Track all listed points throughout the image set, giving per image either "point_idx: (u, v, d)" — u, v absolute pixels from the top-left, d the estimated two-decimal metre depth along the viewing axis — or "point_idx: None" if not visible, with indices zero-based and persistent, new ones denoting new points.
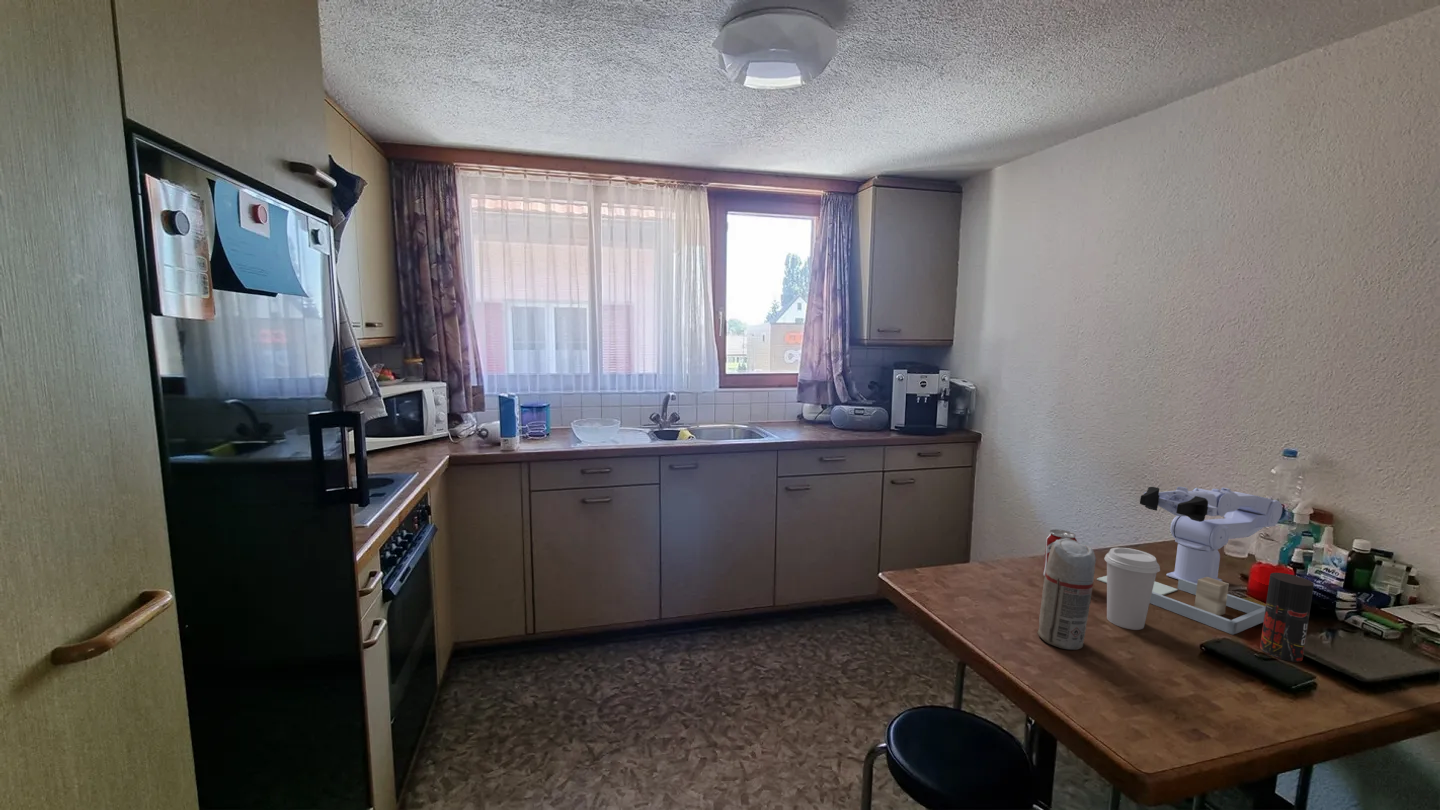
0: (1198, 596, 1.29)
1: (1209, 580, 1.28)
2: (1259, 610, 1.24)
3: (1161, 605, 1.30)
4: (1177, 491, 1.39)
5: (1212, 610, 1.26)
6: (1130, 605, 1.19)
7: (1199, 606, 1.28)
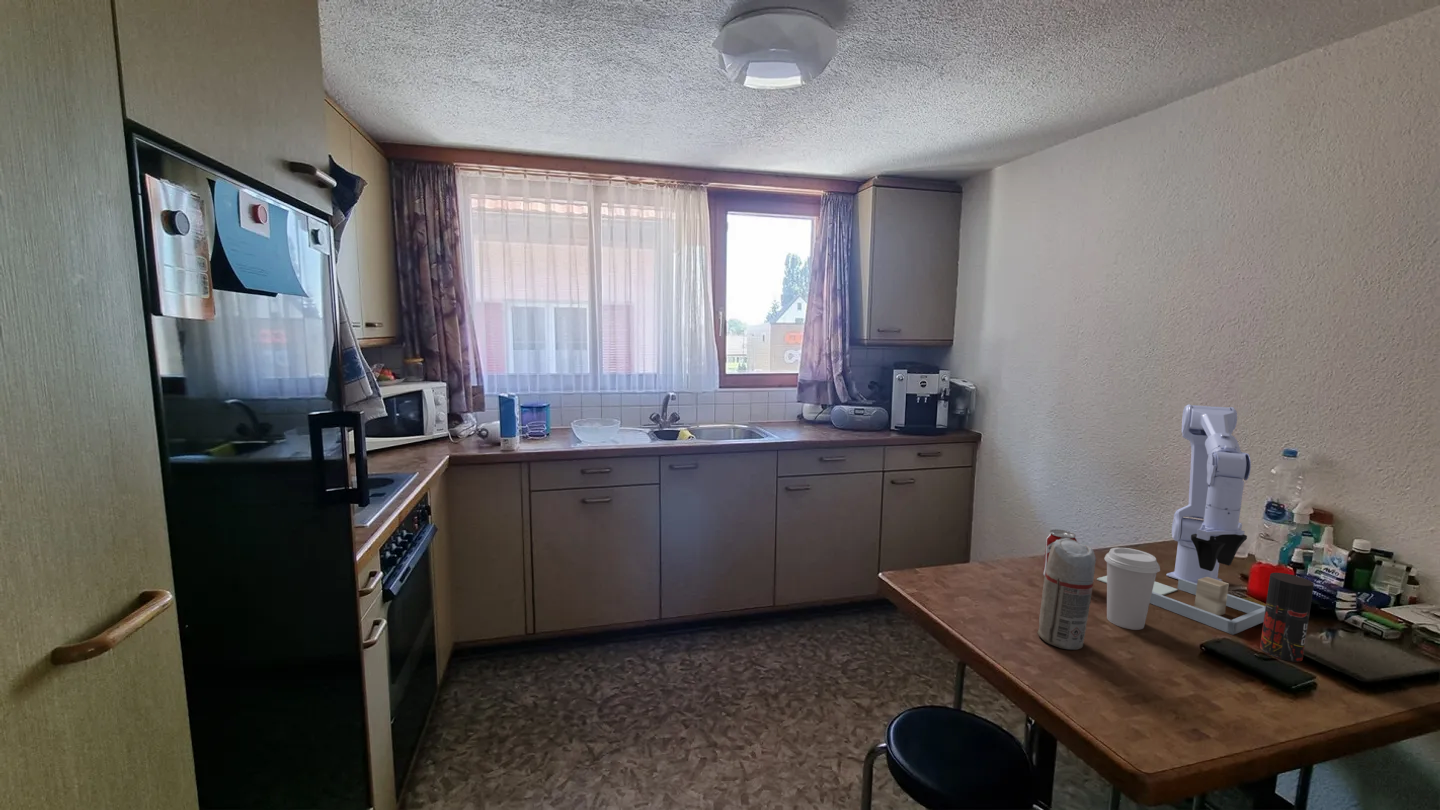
0: (1198, 596, 1.29)
1: (1209, 580, 1.28)
2: (1259, 610, 1.24)
3: (1161, 605, 1.30)
4: (1233, 533, 1.23)
5: (1212, 610, 1.26)
6: (1130, 605, 1.19)
7: (1199, 606, 1.28)
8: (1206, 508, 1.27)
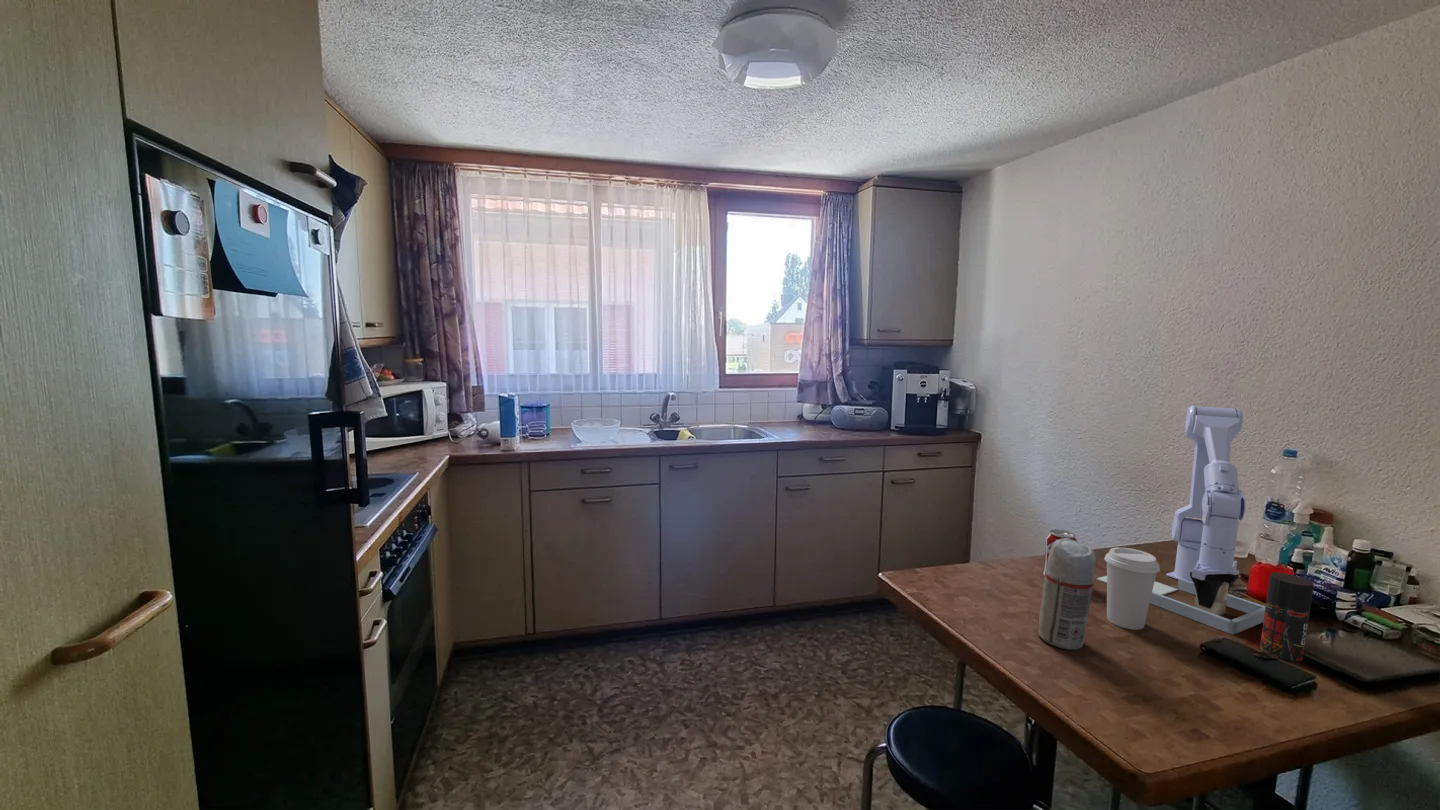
0: None
1: None
2: (1259, 610, 1.24)
3: (1161, 605, 1.30)
4: None
5: (1212, 610, 1.26)
6: (1130, 605, 1.19)
7: (1199, 606, 1.28)
8: (1201, 547, 1.28)
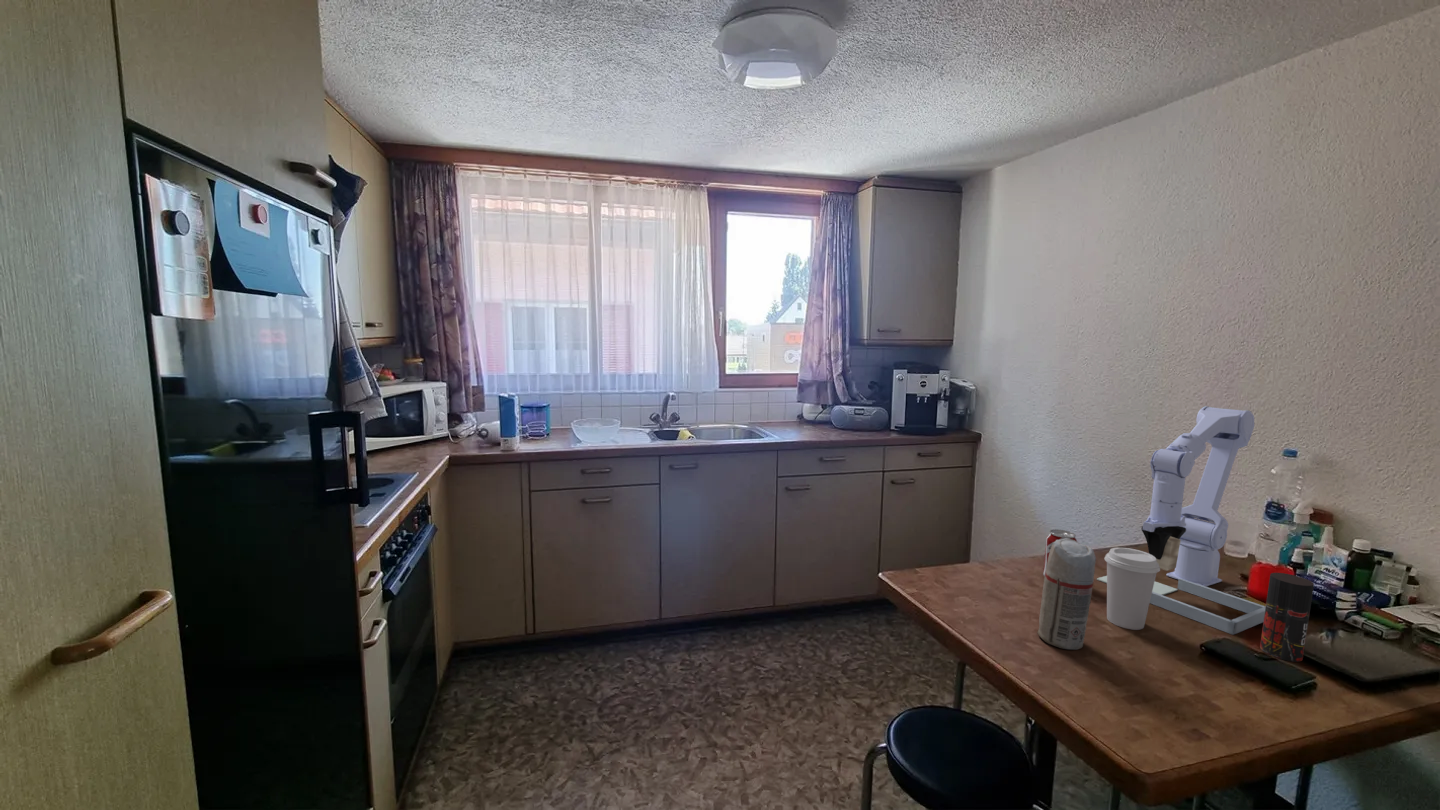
0: None
1: None
2: (1259, 610, 1.24)
3: (1161, 605, 1.30)
4: (1176, 525, 1.33)
5: (1164, 564, 1.34)
6: (1130, 605, 1.19)
7: None
8: (1152, 502, 1.36)
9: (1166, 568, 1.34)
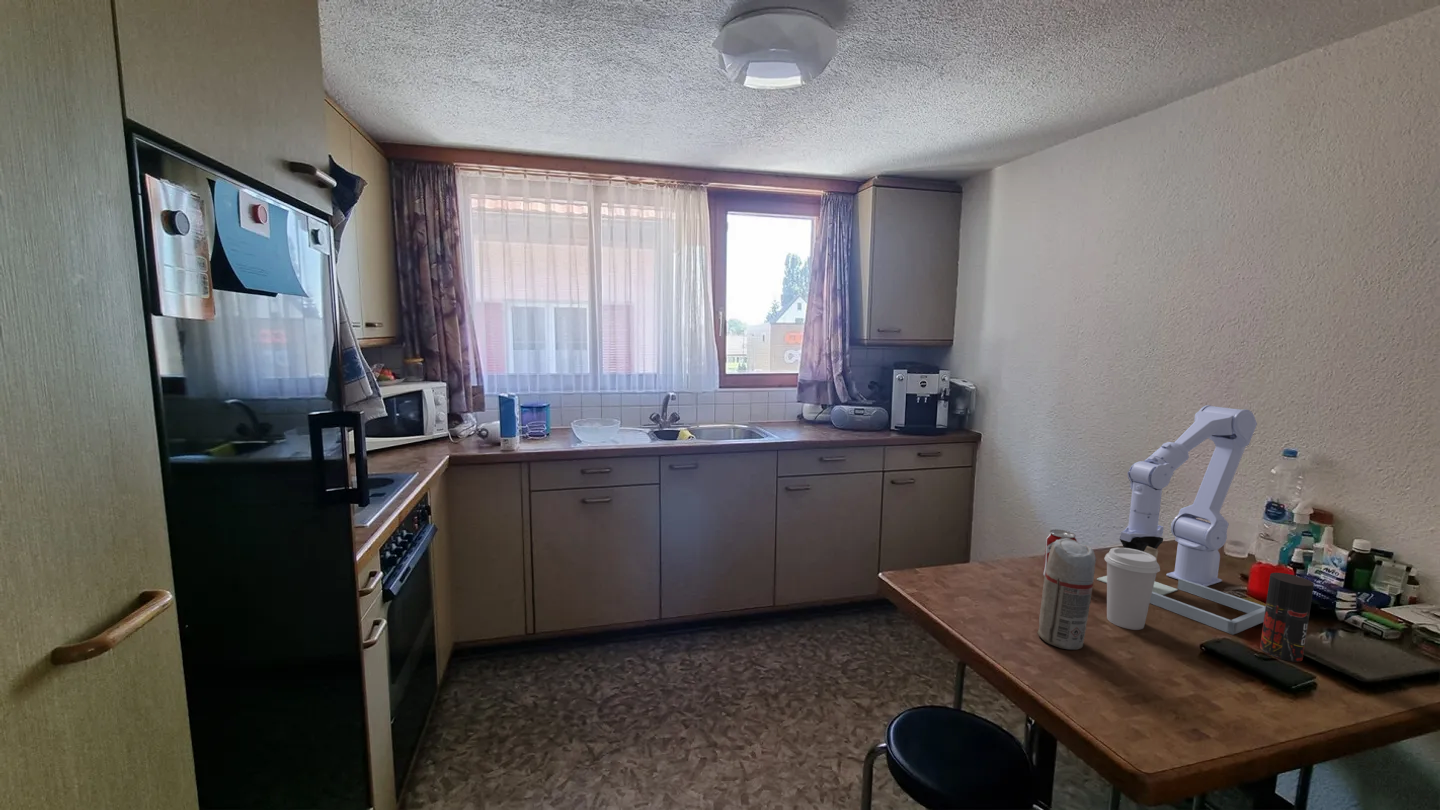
0: None
1: None
2: (1259, 610, 1.24)
3: (1161, 605, 1.30)
4: (1153, 535, 1.37)
5: None
6: (1130, 605, 1.19)
7: None
8: (1130, 512, 1.41)
9: None
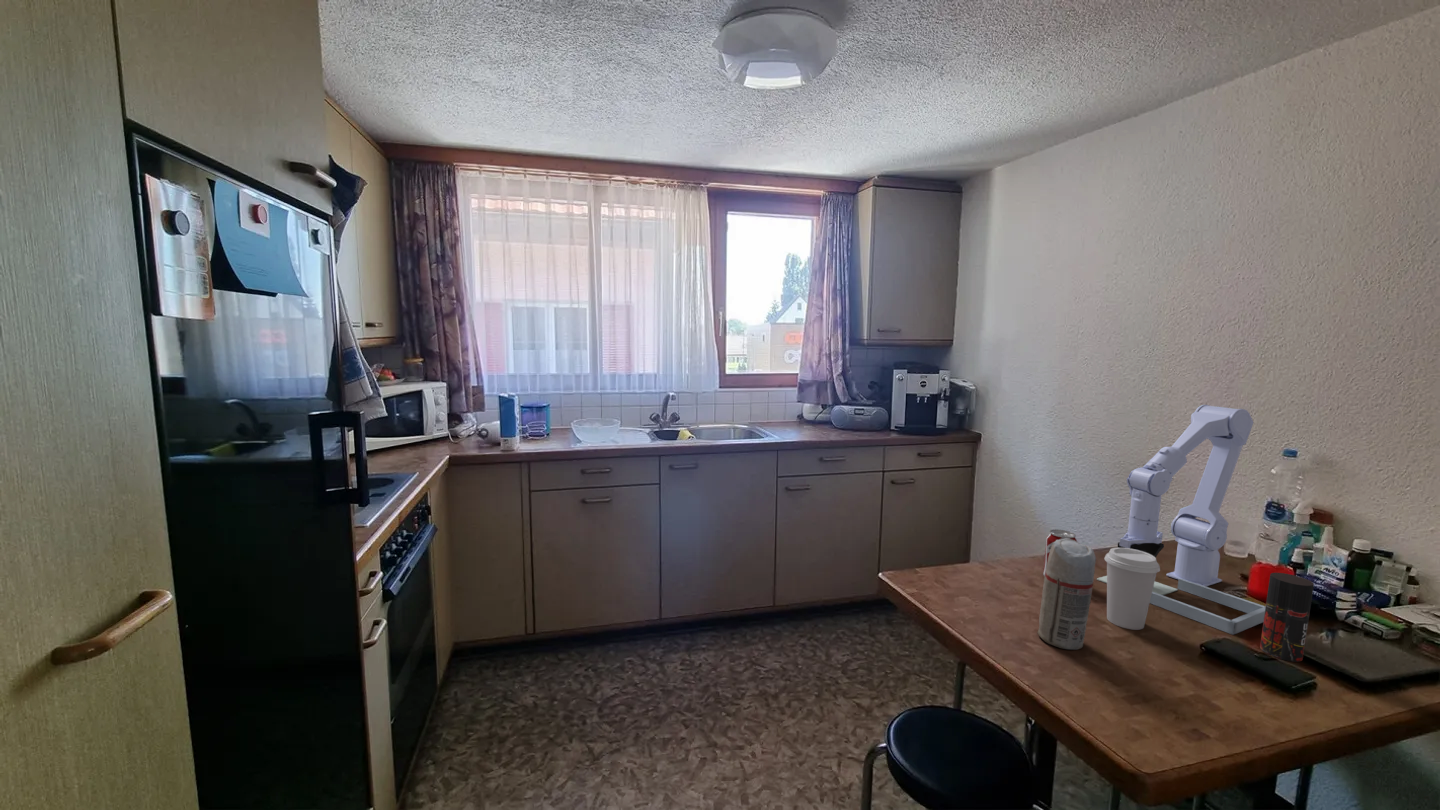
0: None
1: None
2: (1259, 610, 1.24)
3: (1161, 605, 1.30)
4: (1152, 542, 1.38)
5: None
6: (1130, 605, 1.19)
7: None
8: (1129, 519, 1.41)
9: None
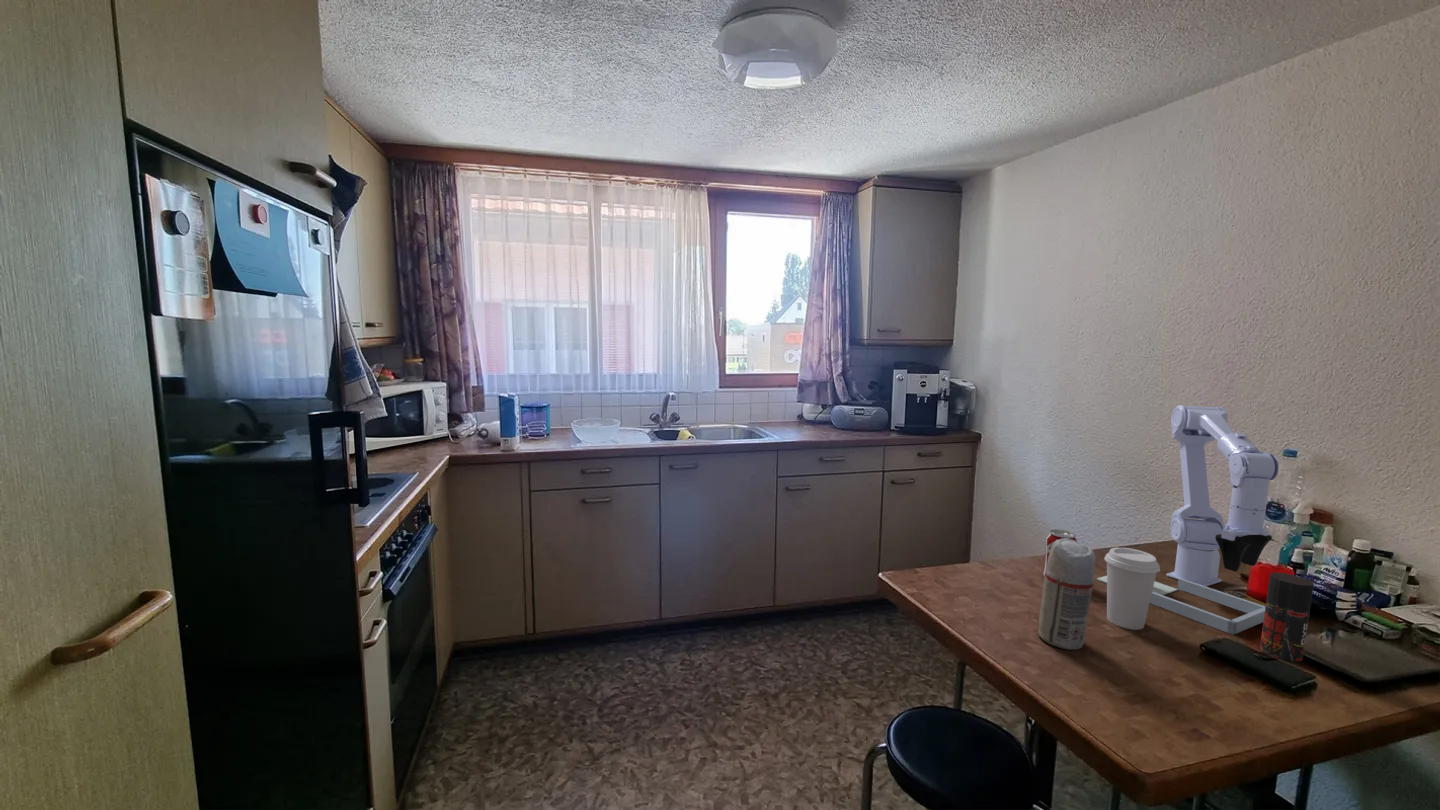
0: None
1: None
2: (1259, 610, 1.24)
3: (1161, 605, 1.30)
4: None
5: None
6: (1130, 605, 1.19)
7: None
8: (1230, 508, 1.27)
9: None
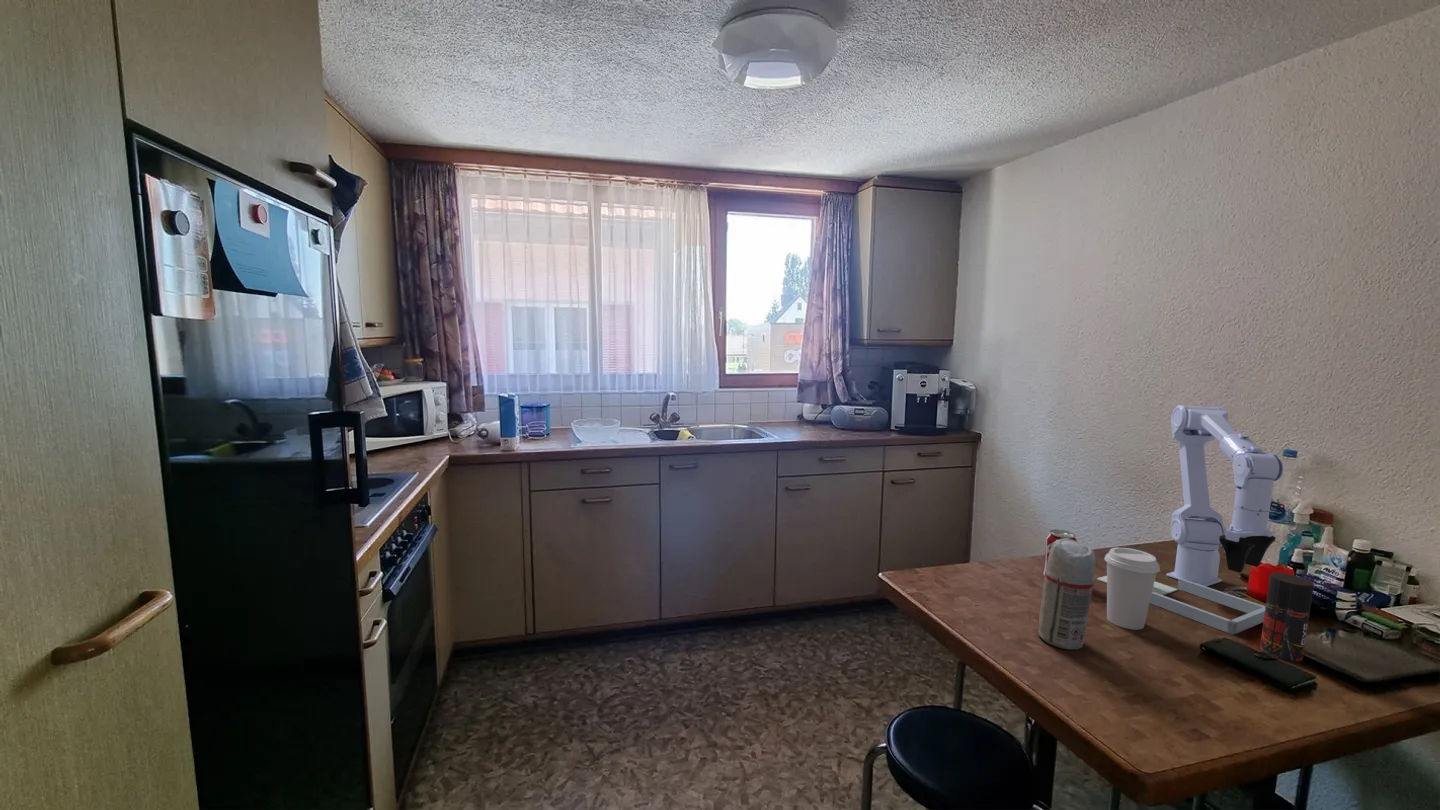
0: None
1: None
2: (1259, 610, 1.24)
3: (1161, 605, 1.30)
4: None
5: None
6: (1130, 605, 1.19)
7: None
8: (1234, 509, 1.26)
9: None
